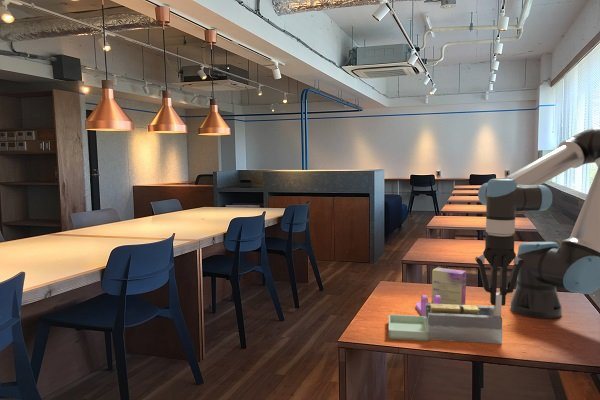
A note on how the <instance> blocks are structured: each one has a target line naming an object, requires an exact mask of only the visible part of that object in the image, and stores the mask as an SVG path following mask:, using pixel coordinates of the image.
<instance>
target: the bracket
mask: <svg viewBox="0 0 600 400" xmlns="http://www.w3.org/2000/svg"><path fill="white" fill-rule="evenodd" d="M426 303H429V297H428V295H427V294H421V296H420V302H416V303H415V308H416V310H417V312H419V314H420V316H425V317H426ZM433 304H441V297H440V295H434V303H433Z"/></svg>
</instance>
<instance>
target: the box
mask: <svg viewBox="0 0 600 400" xmlns="http://www.w3.org/2000/svg"><path fill="white" fill-rule="evenodd" d="M431 273H432V274H431V304H434V295H440V297H441V304H454V305H466V297H467V295H466V294H467V290H466V288H467V270H461V269H453V268H452V269H451V268H444V267H435V268H433V269H432V271H431Z"/></svg>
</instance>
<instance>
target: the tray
mask: <svg viewBox="0 0 600 400" xmlns="http://www.w3.org/2000/svg"><path fill="white" fill-rule="evenodd" d="M388 340H400V341H401V340H402V341H404V340H405V341H418V342H419V341H420V342H421V341H422V342H430V340H429V331H428V326H427V322H426V317H425V316H422V315H409V314H408V315H405V314H389V313H388Z"/></svg>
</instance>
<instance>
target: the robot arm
mask: <svg viewBox="0 0 600 400" xmlns="http://www.w3.org/2000/svg"><path fill="white" fill-rule="evenodd" d="M586 164H595V166H597V170H596V172H595V175H594V177H593V180H592V182H591V185H590V187H589V189H588V192H587V194H586V197H585V199H584V202H583V204H582V207H581V209H580V212H579V214H578V217H577V219H576V221H575V224H574V226H573V229H572V231H571V234H570V236H569V238H566V239H563V240H562V241H561V243H560V245H558V243H557V242H556V241H530V242H529V241H528V242H522V243H520V244H519V245H518V248H517V254H516V252H515V235H514V234H515V233H516V229H515V227H516V213H521V212H522V213H523V212H524V213H525V212H529V213H531V212H535V213H538V212H543V211H544V212H545V211H546V210H549V208H550V207H551V206H552V203H553V193H552V190H551V189H550V188H549V187H548V186H547V185H543V184H545V183H547V182H549V181H550V180H552V179H554V178H555V177H557V176H560V175H561V174H562V173H565V172H566V171H568V170H569V169H571V168H572V169H577V168H580V167H581V166H583V165H586ZM477 197H478V201H479V202H480V203H481V204H482V205H483V206H485V207H486V208H485V209H486V211H485V213H486V214H485V215H486V216H485V218H486V219H485V232H486V234H485V243H484V244H485V246H484V251H483V252H482V255H480V256H476V257H474V261H475V262H476V263H477V265H478V269H479V273H480V277H481V281H482V283H481V284H482V287H483V289H484V290H485V292H487V293H490V298H489V299H490V300H489V301H490V302H489V303H490V304H491V306H494V316H501V317H502V309H503V308H502V306H506V299H507V298H506V297H507V294H512V293H513V292H514V293H513V295H512V298H511V300H510V311H512V312H513V313H514V314H517V315H521V316H523V317H528V318H535V319H556V318H560V317H561V316H562V311H563V310H562V304H561V301H560V298H559V295H558V292H557V288H560V289H563V290H567V291H568V292H571V293H576V294H580V295H581V294H582V295H589V294H592V293H594V292H596V291H598V290H599V289H600V126H594V127H591V128H587V129H585V130H583V131H581V132H578V133H576V134H575V135H573V136H571V137H569V138H567V139H566V140H564V141H561V142H560V143H559V144H558V146H557V148H556V149H554V150H551V151H550V152H548V153H547V154H544V155H543V156H541V157H539V158H538V159H535V160H534V161H533V162H531V163H528V164H527V165H525V166H523V167H521V168H519V169H518V170H516V171H514V172H512V173H510V174H509V175H507V176H505V177H503V178H491V179H489V180H488V181H487V182H484V183H483V184H481V185H480V187H479V188H478V191H477ZM485 260H486V261H487V262H488V264H489V265H490V284H489V280H488V276H487V271H486V267H485V265H484V264H485V262H486V261H485ZM512 262H513V266H512V268H511V272H510V276H509V279H508V278H507V277H508V275H507V274H508V266H509V265H511V263H512ZM498 269H499V270H500V273H499V274H500V275H499V276H500V277H499V292H497V286H498V285H497V283H498ZM507 279H508V283H507ZM515 285H516V286H515ZM514 289H515V290H514Z"/></svg>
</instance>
